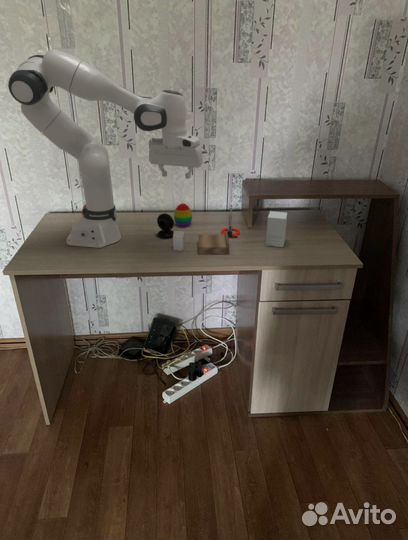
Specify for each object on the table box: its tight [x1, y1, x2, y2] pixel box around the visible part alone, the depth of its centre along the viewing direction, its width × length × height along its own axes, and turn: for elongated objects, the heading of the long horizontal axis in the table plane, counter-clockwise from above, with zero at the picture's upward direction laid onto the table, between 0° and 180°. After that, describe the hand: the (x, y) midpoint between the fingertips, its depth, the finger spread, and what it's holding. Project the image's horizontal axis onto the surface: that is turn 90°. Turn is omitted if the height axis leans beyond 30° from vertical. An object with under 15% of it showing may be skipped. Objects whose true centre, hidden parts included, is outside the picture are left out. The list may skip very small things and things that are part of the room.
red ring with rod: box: [220, 207, 241, 239], centre depth 175 cm, size 8×13×9 cm
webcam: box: [156, 212, 175, 240], centre depth 173 cm, size 8×8×10 cm
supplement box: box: [265, 210, 288, 248], centre depth 166 cm, size 7×7×13 cm
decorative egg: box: [173, 203, 193, 228], centre depth 183 cm, size 8×8×10 cm
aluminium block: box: [172, 230, 185, 252], centre depth 163 cm, size 4×6×6 cm
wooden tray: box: [198, 231, 230, 255], centre depth 164 cm, size 12×12×4 cm
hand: (176, 177), depth 153 cm, fingers open, 8 cm apart
